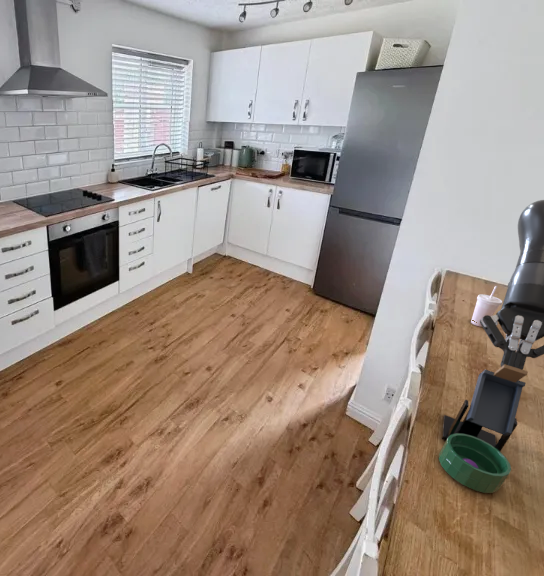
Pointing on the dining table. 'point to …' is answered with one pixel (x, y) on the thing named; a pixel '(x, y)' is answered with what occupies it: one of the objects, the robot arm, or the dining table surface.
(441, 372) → the dining table surface
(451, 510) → the dining table surface
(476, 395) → the chute
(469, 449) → the bowl
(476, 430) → the stand
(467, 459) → the ball
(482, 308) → the smoothie
